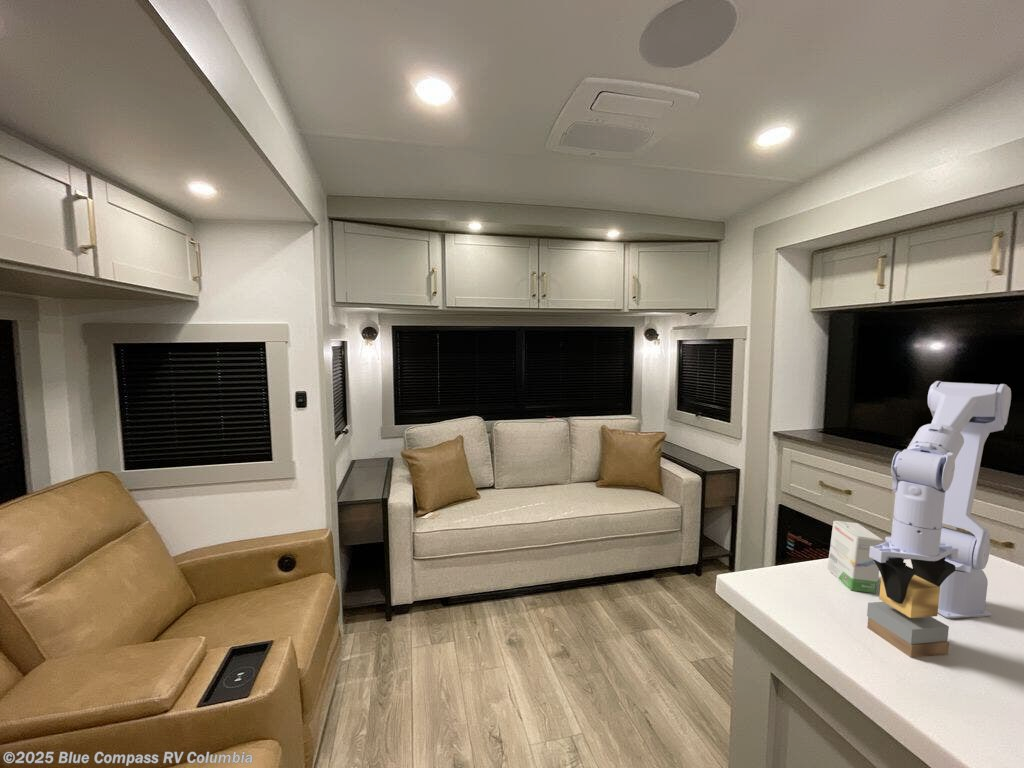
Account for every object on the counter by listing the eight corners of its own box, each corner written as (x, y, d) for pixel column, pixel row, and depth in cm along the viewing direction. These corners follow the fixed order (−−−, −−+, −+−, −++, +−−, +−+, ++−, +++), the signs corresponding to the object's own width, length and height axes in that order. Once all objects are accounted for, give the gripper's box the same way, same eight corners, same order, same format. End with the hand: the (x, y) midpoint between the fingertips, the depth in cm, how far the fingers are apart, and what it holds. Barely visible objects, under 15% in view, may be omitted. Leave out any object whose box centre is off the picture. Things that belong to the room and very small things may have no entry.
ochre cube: (904, 597, 70) (906, 570, 70) (937, 616, 65) (940, 587, 65) (879, 599, 70) (881, 572, 69) (910, 617, 65) (913, 588, 64)
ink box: (826, 569, 90) (830, 519, 89) (852, 571, 89) (856, 521, 88) (850, 591, 82) (855, 536, 81) (879, 594, 81) (884, 539, 80)
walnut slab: (901, 627, 72) (902, 614, 71) (947, 656, 65) (949, 642, 64) (867, 630, 71) (868, 616, 71) (910, 660, 64) (911, 645, 64)
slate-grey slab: (900, 613, 72) (901, 600, 71) (947, 640, 65) (948, 626, 65) (866, 616, 71) (867, 602, 71) (911, 644, 64) (912, 629, 64)
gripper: (927, 511, 71) (919, 583, 72) (854, 513, 69) (848, 587, 70) (977, 528, 64) (968, 608, 65) (897, 531, 62) (890, 613, 63)
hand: (908, 599), depth 67 cm, fingers closed on ochre cube, 5 cm apart
